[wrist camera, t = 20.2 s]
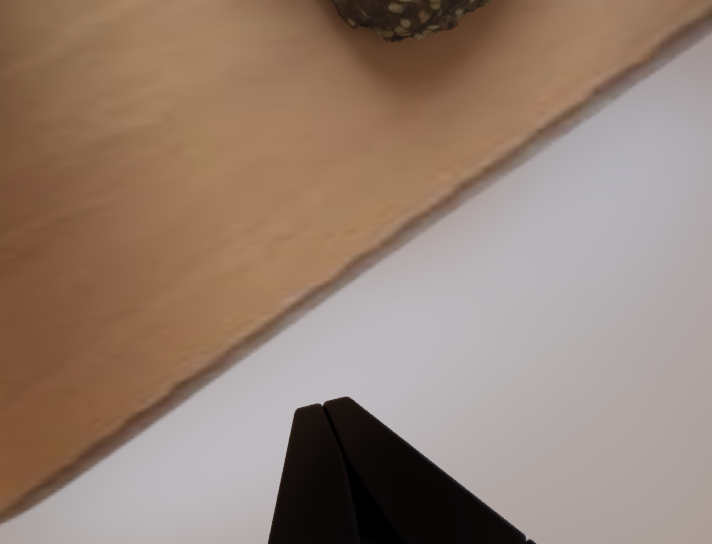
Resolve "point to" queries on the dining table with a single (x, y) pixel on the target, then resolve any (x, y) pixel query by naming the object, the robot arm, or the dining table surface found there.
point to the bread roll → (405, 15)
